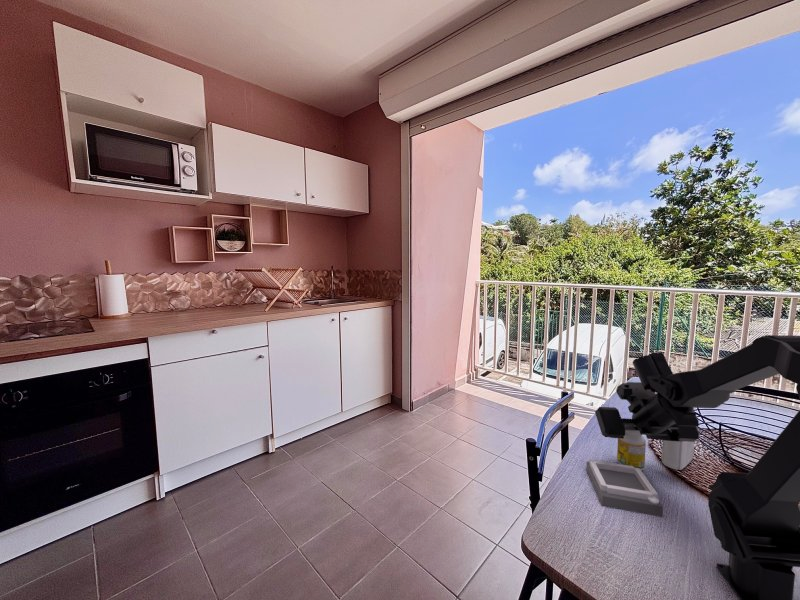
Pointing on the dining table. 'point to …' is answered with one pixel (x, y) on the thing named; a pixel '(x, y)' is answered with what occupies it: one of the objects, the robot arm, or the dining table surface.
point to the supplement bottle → (631, 450)
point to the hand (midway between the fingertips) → (628, 435)
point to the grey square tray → (623, 488)
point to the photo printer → (677, 454)
